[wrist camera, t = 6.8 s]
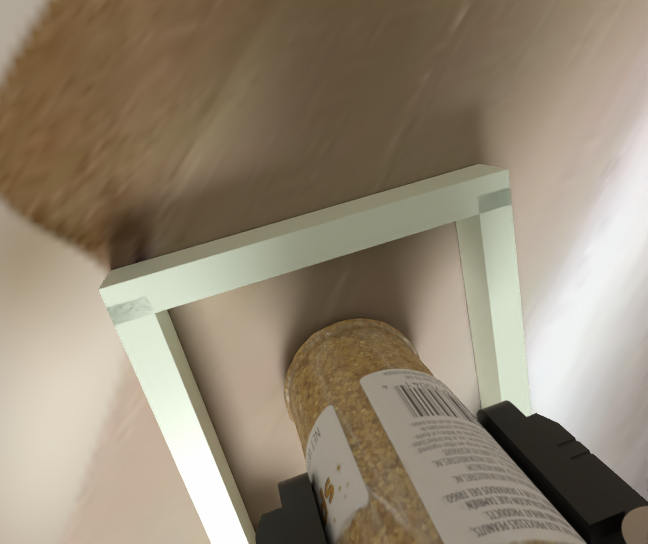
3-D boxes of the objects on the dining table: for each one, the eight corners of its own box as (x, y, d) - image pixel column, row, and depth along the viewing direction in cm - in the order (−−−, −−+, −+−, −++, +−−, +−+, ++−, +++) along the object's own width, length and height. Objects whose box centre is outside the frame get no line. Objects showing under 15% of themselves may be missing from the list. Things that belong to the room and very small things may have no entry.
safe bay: (479, 163, 14) (508, 168, 13) (510, 437, 18) (535, 464, 17) (110, 270, 13) (98, 289, 11) (227, 544, 16) (229, 584, 15)
